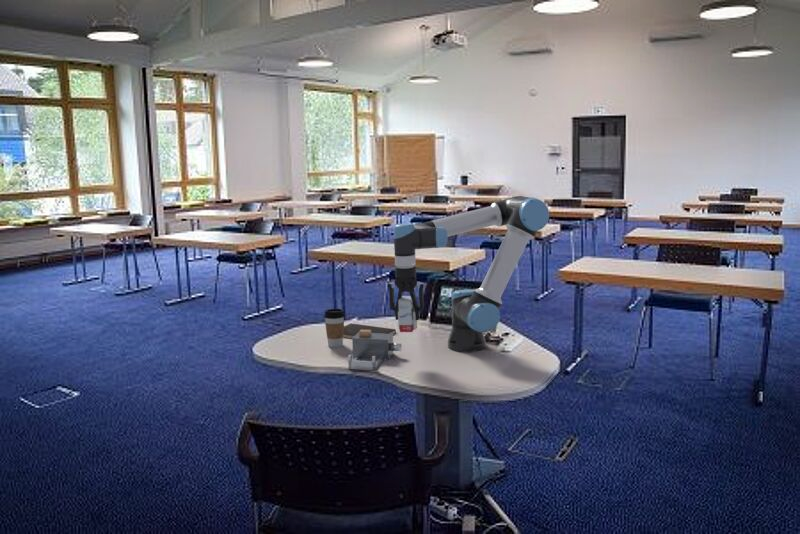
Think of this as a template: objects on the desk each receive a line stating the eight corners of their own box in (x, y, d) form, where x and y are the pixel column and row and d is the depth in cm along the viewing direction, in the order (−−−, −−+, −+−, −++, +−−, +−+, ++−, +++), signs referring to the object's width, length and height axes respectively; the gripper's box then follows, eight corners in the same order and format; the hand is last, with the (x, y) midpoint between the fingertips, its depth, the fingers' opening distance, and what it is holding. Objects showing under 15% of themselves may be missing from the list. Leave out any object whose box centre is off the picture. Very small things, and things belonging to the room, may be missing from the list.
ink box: (412, 332, 242) (411, 301, 239) (399, 332, 243) (397, 300, 240) (416, 326, 250) (415, 295, 248) (403, 325, 251) (402, 295, 249)
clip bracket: (383, 359, 253) (382, 347, 253) (375, 370, 242) (374, 357, 241) (358, 358, 256) (357, 345, 255) (348, 368, 244) (348, 355, 243)
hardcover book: (377, 343, 277) (376, 338, 276) (331, 336, 288) (331, 331, 287) (396, 333, 290) (395, 328, 290) (351, 327, 301) (351, 323, 301)
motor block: (403, 354, 260) (402, 329, 258) (398, 360, 252) (398, 335, 250) (358, 352, 264) (358, 327, 262) (353, 358, 256) (352, 333, 254)
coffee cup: (321, 347, 271) (319, 311, 268) (331, 341, 279) (329, 306, 276) (340, 349, 268) (338, 313, 265) (349, 343, 275) (348, 308, 273)
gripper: (431, 264, 243) (433, 326, 248) (383, 264, 247) (386, 325, 252) (427, 268, 236) (430, 331, 240) (378, 268, 240) (381, 330, 245)
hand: (407, 328), depth 246 cm, fingers closed on ink box, 5 cm apart
